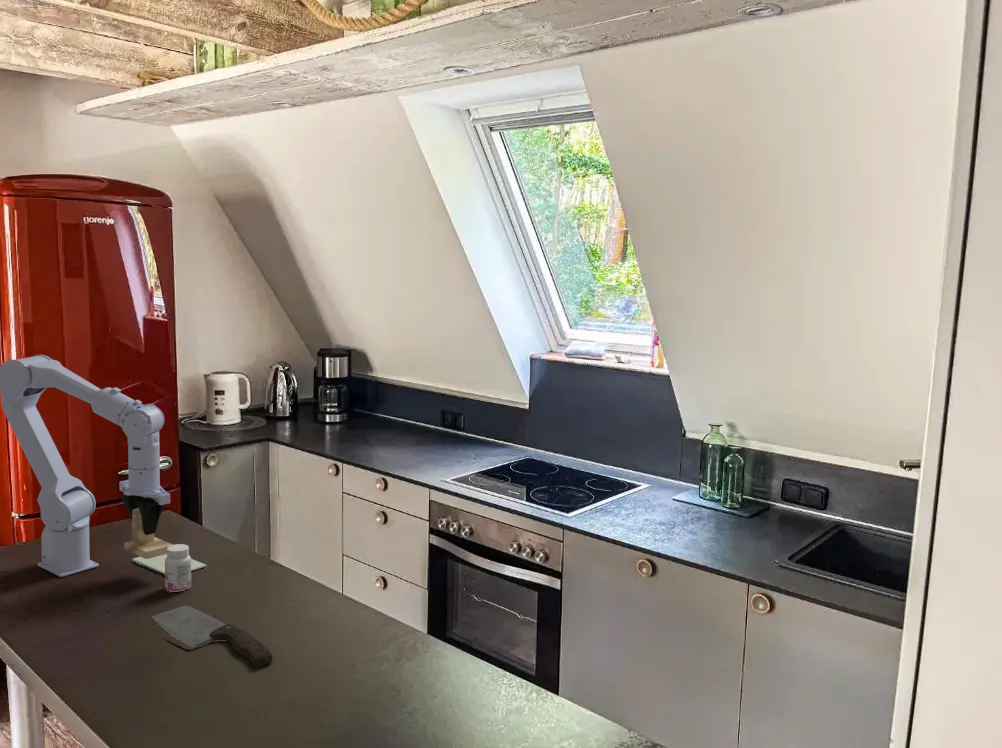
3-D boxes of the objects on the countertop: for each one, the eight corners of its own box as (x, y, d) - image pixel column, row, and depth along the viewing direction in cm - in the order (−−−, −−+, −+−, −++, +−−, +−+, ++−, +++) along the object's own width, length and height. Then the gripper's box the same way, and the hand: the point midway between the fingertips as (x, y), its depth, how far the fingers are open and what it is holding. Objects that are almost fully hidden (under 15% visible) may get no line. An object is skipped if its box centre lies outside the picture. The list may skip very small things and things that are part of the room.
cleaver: (285, 659, 136) (285, 647, 135) (234, 682, 128) (234, 669, 128) (184, 609, 153) (184, 598, 153) (134, 626, 145) (134, 614, 145)
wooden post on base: (124, 549, 164) (125, 510, 163) (151, 543, 169) (153, 505, 168) (146, 559, 160) (147, 519, 159) (173, 552, 165) (174, 513, 164)
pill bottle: (160, 588, 160) (160, 547, 159) (183, 581, 164) (183, 541, 163) (172, 595, 157) (172, 553, 156) (195, 588, 161) (195, 547, 160)
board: (132, 561, 173) (132, 558, 173) (166, 551, 179) (166, 548, 179) (172, 578, 165) (172, 575, 165) (206, 567, 171) (206, 564, 171)
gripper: (104, 463, 164) (105, 528, 166) (146, 476, 156) (147, 545, 158) (137, 457, 170) (138, 520, 172) (179, 470, 162) (179, 536, 164)
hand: (144, 531), depth 165 cm, fingers closed on wooden post on base, 3 cm apart
